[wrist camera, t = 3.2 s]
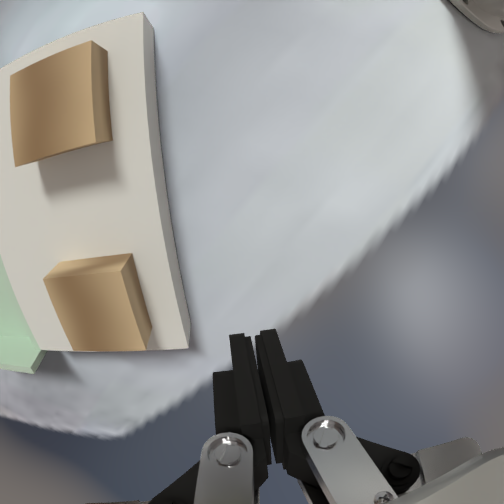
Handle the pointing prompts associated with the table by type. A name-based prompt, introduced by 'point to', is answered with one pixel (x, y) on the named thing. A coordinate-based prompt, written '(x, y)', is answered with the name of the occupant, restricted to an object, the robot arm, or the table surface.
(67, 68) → the tile
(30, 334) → the tray
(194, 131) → the table surface
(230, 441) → the robot arm
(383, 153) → the table surface
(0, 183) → the board
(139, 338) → the tile
